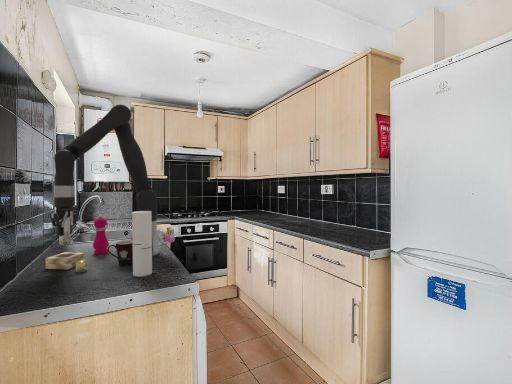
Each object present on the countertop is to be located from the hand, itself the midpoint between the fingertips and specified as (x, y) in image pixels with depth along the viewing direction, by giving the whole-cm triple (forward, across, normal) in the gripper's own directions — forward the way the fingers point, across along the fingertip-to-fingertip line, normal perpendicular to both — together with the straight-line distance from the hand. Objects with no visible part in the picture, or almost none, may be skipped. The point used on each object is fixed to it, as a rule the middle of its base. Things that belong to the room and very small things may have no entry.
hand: (65, 234), depth 120 cm
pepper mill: (+14, +21, -2) cm, 25 cm away
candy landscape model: (+14, +49, -18) cm, 54 cm away
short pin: (+14, -6, -12) cm, 19 cm away
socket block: (+14, 0, 0) cm, 14 cm away
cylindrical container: (+14, -7, -39) cm, 42 cm away
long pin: (+4, 0, 0) cm, 4 cm away
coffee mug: (+14, +5, -24) cm, 28 cm away
